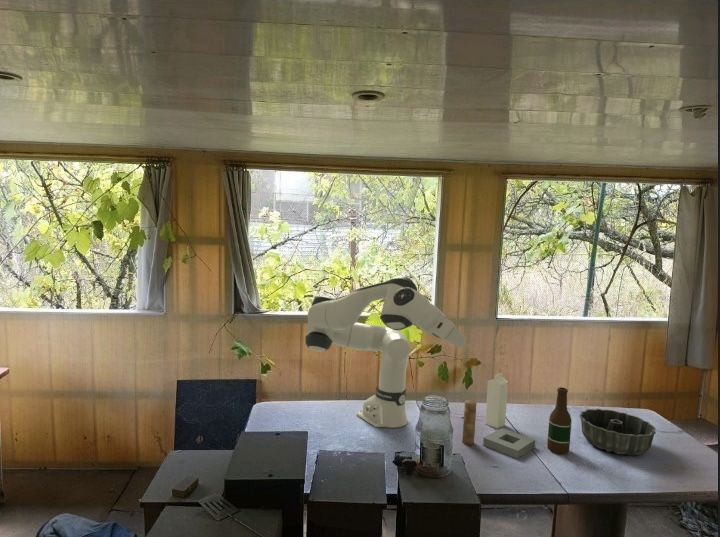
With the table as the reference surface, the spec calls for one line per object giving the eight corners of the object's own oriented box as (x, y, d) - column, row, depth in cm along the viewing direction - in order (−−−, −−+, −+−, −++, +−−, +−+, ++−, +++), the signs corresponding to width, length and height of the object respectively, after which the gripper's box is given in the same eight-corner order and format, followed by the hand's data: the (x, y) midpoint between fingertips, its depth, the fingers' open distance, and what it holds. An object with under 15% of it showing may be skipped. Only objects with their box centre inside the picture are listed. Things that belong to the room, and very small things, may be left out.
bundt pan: (607, 427, 204) (609, 404, 203) (669, 454, 180) (672, 429, 179) (562, 436, 192) (564, 412, 192) (623, 467, 169) (625, 440, 168)
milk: (505, 425, 202) (509, 374, 200) (497, 428, 198) (501, 377, 196) (492, 420, 206) (496, 370, 204) (484, 424, 202) (488, 373, 200)
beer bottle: (559, 456, 175) (564, 393, 173) (542, 447, 182) (546, 386, 180) (573, 452, 178) (578, 390, 176) (556, 444, 185) (561, 384, 183)
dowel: (460, 442, 184) (462, 402, 182) (466, 439, 187) (468, 399, 185) (469, 446, 180) (472, 405, 179) (476, 442, 184) (478, 402, 182)
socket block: (483, 445, 182) (483, 437, 181) (501, 435, 192) (501, 427, 191) (517, 458, 172) (517, 450, 172) (534, 447, 182) (535, 439, 181)
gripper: (408, 316, 166) (431, 335, 174) (443, 340, 149) (467, 359, 156) (419, 302, 167) (441, 321, 174) (455, 324, 149) (478, 344, 157)
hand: (454, 339), depth 165 cm, fingers open, 8 cm apart
